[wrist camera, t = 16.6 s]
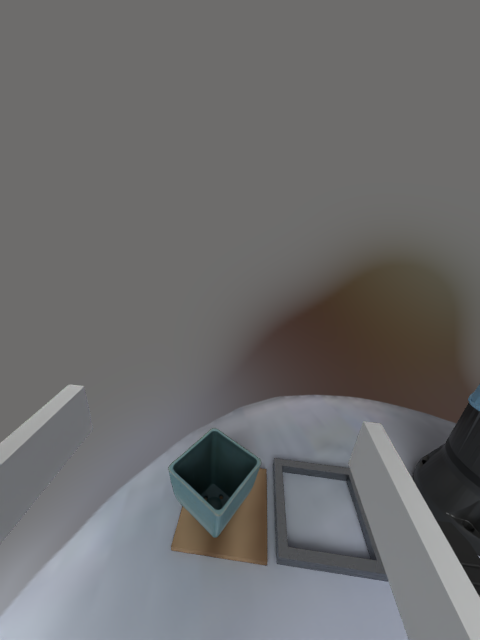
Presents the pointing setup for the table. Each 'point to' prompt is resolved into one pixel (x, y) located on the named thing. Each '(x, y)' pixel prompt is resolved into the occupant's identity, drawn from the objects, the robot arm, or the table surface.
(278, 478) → the metal collar
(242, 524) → the walnut board
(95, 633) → the table surface
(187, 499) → the flower pot
